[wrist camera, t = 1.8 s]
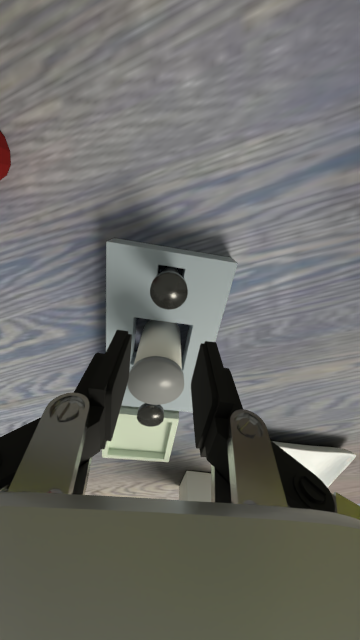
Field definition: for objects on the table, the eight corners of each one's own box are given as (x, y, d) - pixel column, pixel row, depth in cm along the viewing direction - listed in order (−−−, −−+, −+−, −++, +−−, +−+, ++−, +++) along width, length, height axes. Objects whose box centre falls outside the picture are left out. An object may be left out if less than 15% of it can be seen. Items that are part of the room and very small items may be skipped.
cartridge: (184, 318, 29) (188, 366, 21) (178, 352, 32) (179, 407, 23) (143, 313, 29) (128, 359, 20) (139, 347, 32) (125, 401, 23)
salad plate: (249, 428, 41) (255, 445, 38) (347, 439, 44) (360, 456, 41) (220, 484, 51) (223, 502, 48) (301, 491, 53) (309, 508, 50)
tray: (178, 410, 38) (178, 419, 36) (168, 453, 44) (168, 462, 42) (104, 403, 37) (101, 412, 35) (104, 448, 43) (102, 457, 41)
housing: (231, 257, 26) (237, 263, 23) (193, 397, 37) (194, 412, 34) (113, 237, 24) (106, 241, 22) (111, 389, 35) (105, 403, 33)
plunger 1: (167, 380, 33) (165, 410, 28) (163, 396, 34) (162, 427, 29) (143, 377, 32) (137, 407, 27) (141, 394, 34) (135, 425, 29)
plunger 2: (187, 263, 24) (190, 277, 20) (182, 292, 26) (184, 311, 21) (156, 258, 24) (151, 270, 19) (153, 288, 26) (148, 306, 21)
